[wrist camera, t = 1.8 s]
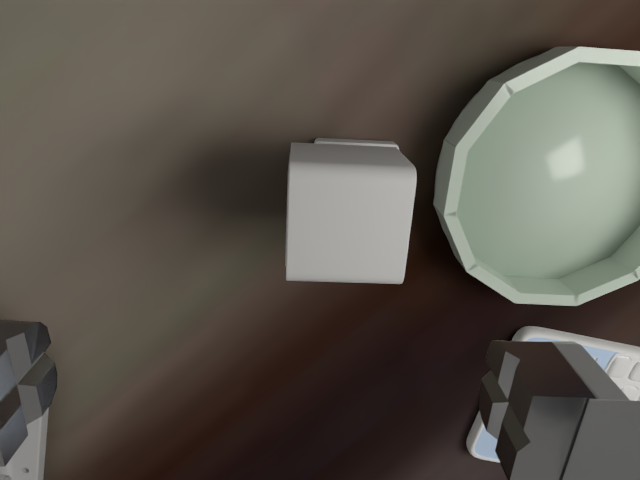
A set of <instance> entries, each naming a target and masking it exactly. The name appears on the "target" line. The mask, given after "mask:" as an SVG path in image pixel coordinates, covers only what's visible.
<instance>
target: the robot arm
mask: <svg viewBox="0 0 640 480" xmlns="http://www.w3.org/2000/svg"><path fill="white" fill-rule="evenodd" d="M50 343H51V341H50V337H49V333H48V329H47V327H46V326H45V325H44V324H42V323H41V322H31V321H14V320H0V480H43V475H44V462H45V449H46V437H47V424H48V411H49V406H50V404H51V402H52V399H53V396H54V393H55V390H56V387H57V371H56V366H55V363H54V362H53V361H52V360H51V359H50V358H49V357H48V356H47V355H46V354H45V353H44V352H45V351H46V349H47V348H48V346H49V345H50ZM486 360H487V362H488V364H489V366H490V368H491V371H490V372H489V373H488V374H487V375H486V376H484V377H483V378H482V379H481V385H480V390H479V410H480V414H481V418H482V422H483V424H484V426H485V429H486V431H487V432H488V433H489V434H491V435H492V436H493V437H495V438H496V439H497V440H498V441H497V445H496V449H495V452H496V454H497V456H498V459H499V461H500V463H501V465H502V468H503V470H504V472H505V475H506V477H507V479H508V480H640V401H632V400H629V399H628V397H627V396H626V395H625V394H624V393H623V392H622V391H621V389H620V388H619V387H618V386H617V385H616V384H615V383H614V381H613V380H612V379H611V378H610V377H609V376H608V375H607V374H606V372H605V371H604V370H603V369H602V368H601V367H600V366H599V364H598V363H597V362H596V361H595V360H594V359H593V358H592V356H591V355H590V354H589V353H588V352H587V351H586V350H585V348H584V347H583V346H582V345H580V344H578V343H576V342H574V341H547V342H535V341H492V343H491V345H490V346H489V349H488V353H487V357H486Z"/></svg>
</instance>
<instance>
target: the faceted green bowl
mask: <svg viewBox="0 0 640 480" xmlns="http://www.w3.org/2000/svg"><path fill="white" fill-rule="evenodd" d="M444 139H445V140H444V141H443V146H442V149H441V152H440V155H439V159H438V163H437V168H436V175H435V185H434V187H435V195H434V202H433V205H434V207H435V210H436V212H437V214H438V217H439V220H440V223H441V226H442V229H443V231H444V233H445V235H446V237H447V239H448V241H449V243H450V246H451V248H452V250H453V253H454V255H455V257H456V258H457V260H458V261H459V262H460V264H461V265H462V266H463V268H464V269H465V270H466V272H467V273H469V274H471V275H472V276H474V277H475V278H477V279H478V280H480V281H481V282H483V283H484V284H486V285H487V286H489V287H491V288H492V289H494V290H495V291H497V292H498V293H500V294H501V295H503V296H504V297H506V298H507V299H509V300H511V301H512V302H514V303H520V304H544V305H567V306H577V305H580V304H582V303H585V302H587V301H589V300H592V299H594V298H597V297H599V296H602V295H604V294H606V293H609V292H611V291H614V290H616V289H618V288H621V287H623V286H626V285H628V284H630V283H633V282H635V281H638V279H640V51H629V50H616V49H603V48H591V47H555V48H553V49H551V50H549V51H547V52H545V53H543V54H541V55H538V56H534V57H532V58H529V59H527V60H525V61H522V62H520V63H518V64H516V65H514V66H512V67H511V68H509V69H507V70H505V71H504V72H502V73H501V74H499V75H498V76H496V77H494V78H492V79H490V80H489V81H487V83H486V84H485V85H484V87H483V88H482V89H481V90H480V91H479V92H477V93H476V94H475V95H474V96H473V98H472V99H471V100H470V101H469V102H468V103H467V105H466V106H465V107H464V108H463V109H462V111H461V112H460V114H459V115H458V117H457V118H456V120H455V121H454V123H453V125H452V127H451V129H450V131H449V133H448V134H447V136H446V137H445V138H444Z"/></svg>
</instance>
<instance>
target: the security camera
mask: <svg viewBox="0 0 640 480" xmlns="http://www.w3.org/2000/svg"><path fill="white" fill-rule="evenodd" d="M416 182H417V174H416V168H415V166H414V165H413V164H412V163H411V162H410V161H409V160H408V159H407V158H406V157H405V156H404V155H403V154H402V153H401V152H400V151H399V147H398V146H397V145H396V144H395V143H394V142H393V141H376V140H354V139H332V138H316V139H315V140H314V143H294V142H292V143H291V150H290V155H289V165H288V184H287V220H286V256H285V268H286V280H287V281H319V282H353V283H388V284H402V282H403V280H404V275H405V268H406V260H407V252H408V245H409V237H410V229H411V222H412V214H413V206H414V199H415V191H416Z"/></svg>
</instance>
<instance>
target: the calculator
mask: <svg viewBox="0 0 640 480" xmlns="http://www.w3.org/2000/svg"><path fill="white" fill-rule="evenodd" d="M511 341H535V342H547V341H574V342H576V343H578V344H580V345H582V346H583V347H584V348H585V350H586V351H587V352H588V353H589V354H590V355H591V356H592V358H593V359H594V360H595V361H596V362H597V363H598V364H599V366H600V367H601V368H602V369H603V370H604V371H605V372H606V374H607V375H608V376H609V377H610V378H611V379H612V380H613V381H614V383H615V384H616V385H617V386H618V387H619V388H620V389H621V391H622V392H623V393H624V394H625V395H626V396H627V397H628V399H629V400H632V401H640V347H637V346H632V345H627V344H622V343H617V342H612V341H607V340H602V339H597V338H592V337H587V336H582V335H577V334H572V333H568V332H563V331H558V330H552V329H547V328H542V327H535V326H526V327H522V328H521V329H519V330H518V331H517V332H516V333H515V335H514V336H513V338H512V340H511ZM636 387H637V388H636ZM497 441H498V440H497V439H496V438H495V437H493V436H492V435H491V434H489V433H488V432H487V431H486V429H485V426H484V424H483V422H482V418H481V414H480V410H479V412H478V414H477V416H476V419H475V421H474V423H473V425H472V427H471V430H470V432H469V434H468V437H467V441H466V445H467V449H468V451H469V453H470V454H471V455H473V456H474V457H476V458H479V459H483V460H488V461H494V462H500V461H499V459H498V456H497V454H496V452H495V449H496V445H497Z"/></svg>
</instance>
